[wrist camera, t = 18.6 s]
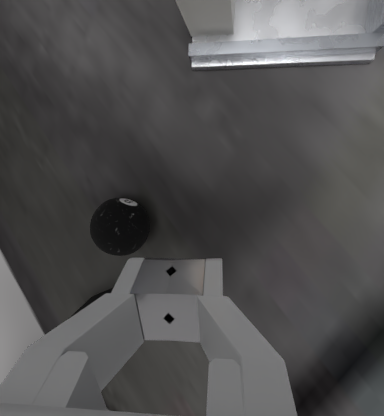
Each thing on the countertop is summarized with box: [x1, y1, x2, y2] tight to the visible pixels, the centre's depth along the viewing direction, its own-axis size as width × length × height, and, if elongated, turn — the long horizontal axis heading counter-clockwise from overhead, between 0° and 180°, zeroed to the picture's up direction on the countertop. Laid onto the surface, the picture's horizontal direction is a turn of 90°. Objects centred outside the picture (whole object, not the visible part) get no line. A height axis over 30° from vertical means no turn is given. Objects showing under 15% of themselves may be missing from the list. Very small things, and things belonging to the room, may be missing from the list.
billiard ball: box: [90, 198, 150, 256], centre depth 28 cm, size 6×6×6 cm
